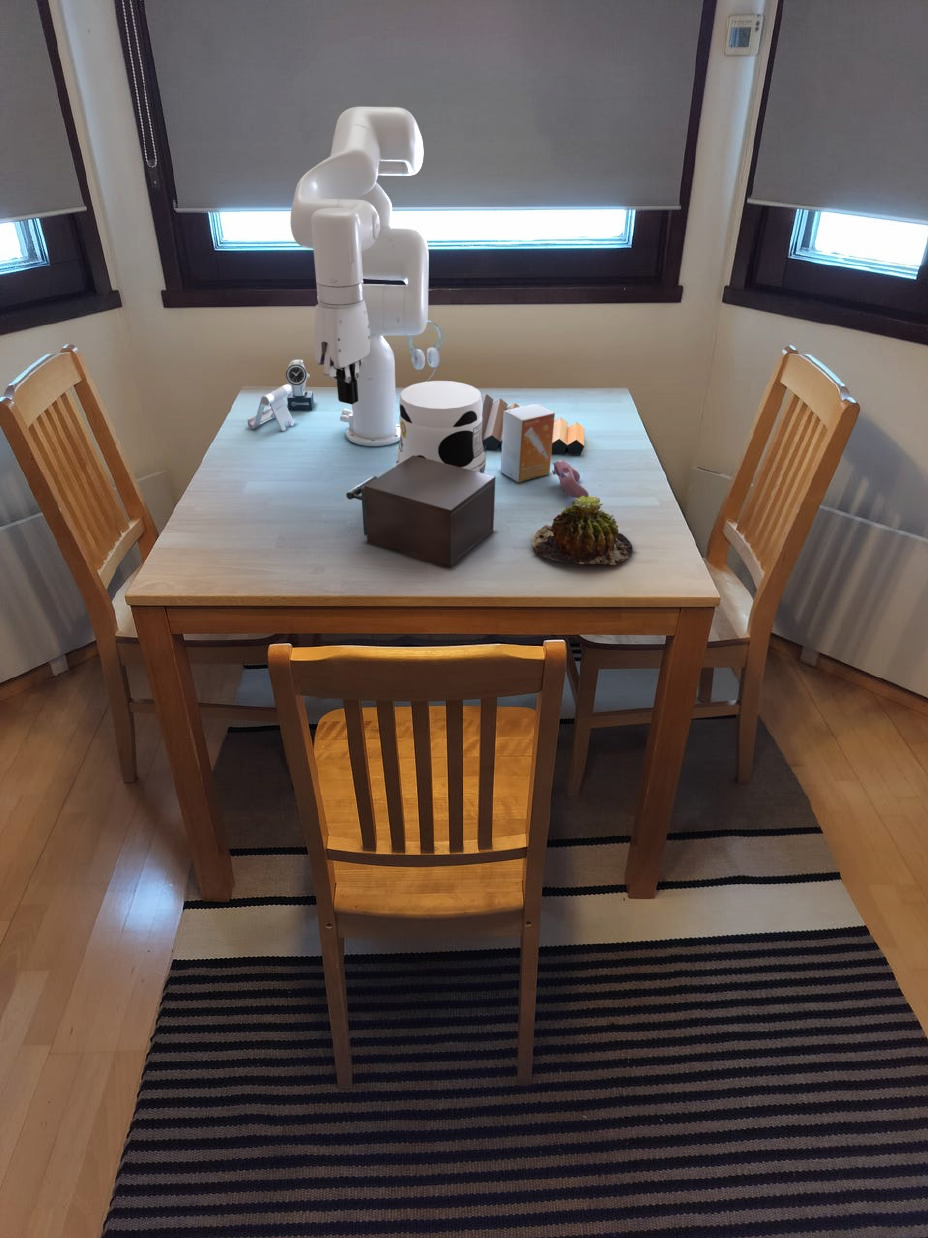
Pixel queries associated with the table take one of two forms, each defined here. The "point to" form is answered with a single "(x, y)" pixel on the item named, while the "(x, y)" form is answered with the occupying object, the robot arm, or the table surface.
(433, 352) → the headphones
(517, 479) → the small box
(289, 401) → the watch
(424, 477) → the cabinet
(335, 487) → the table surface
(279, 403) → the tablet stand
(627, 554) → the cactus
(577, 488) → the video game controller
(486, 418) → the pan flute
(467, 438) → the milk container
